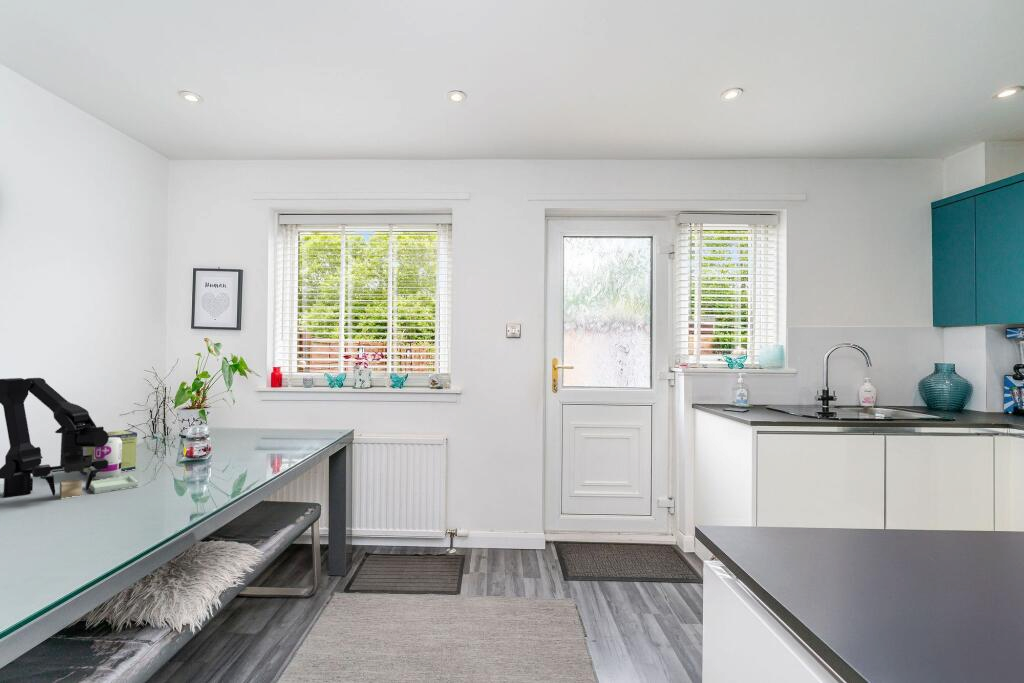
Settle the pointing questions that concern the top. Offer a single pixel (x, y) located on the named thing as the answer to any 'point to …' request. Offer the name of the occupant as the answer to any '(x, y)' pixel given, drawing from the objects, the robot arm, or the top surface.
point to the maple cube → (70, 488)
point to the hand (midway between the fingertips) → (70, 492)
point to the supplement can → (110, 458)
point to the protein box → (127, 449)
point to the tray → (113, 484)
